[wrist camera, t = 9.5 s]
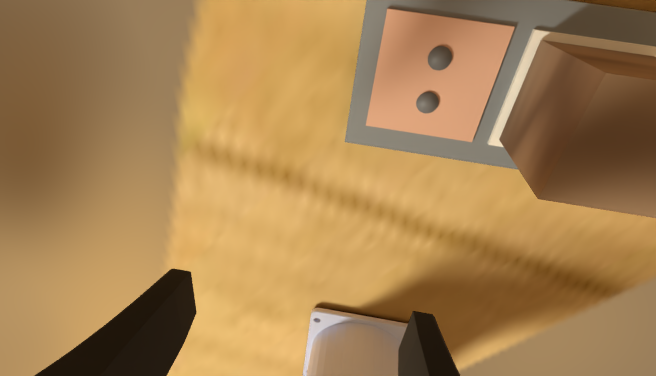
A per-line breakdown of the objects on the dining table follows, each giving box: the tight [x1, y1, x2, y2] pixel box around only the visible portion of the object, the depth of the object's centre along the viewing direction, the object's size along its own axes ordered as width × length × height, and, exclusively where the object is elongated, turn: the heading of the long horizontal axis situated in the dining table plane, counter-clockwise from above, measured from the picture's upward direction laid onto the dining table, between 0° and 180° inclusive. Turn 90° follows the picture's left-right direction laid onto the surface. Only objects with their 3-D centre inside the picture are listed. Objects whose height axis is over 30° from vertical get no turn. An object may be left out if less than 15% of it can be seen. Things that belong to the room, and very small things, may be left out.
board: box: [345, 0, 656, 170], centre depth 16 cm, size 8×13×1 cm, turn 83°
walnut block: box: [499, 40, 656, 218], centre depth 14 cm, size 4×4×5 cm
